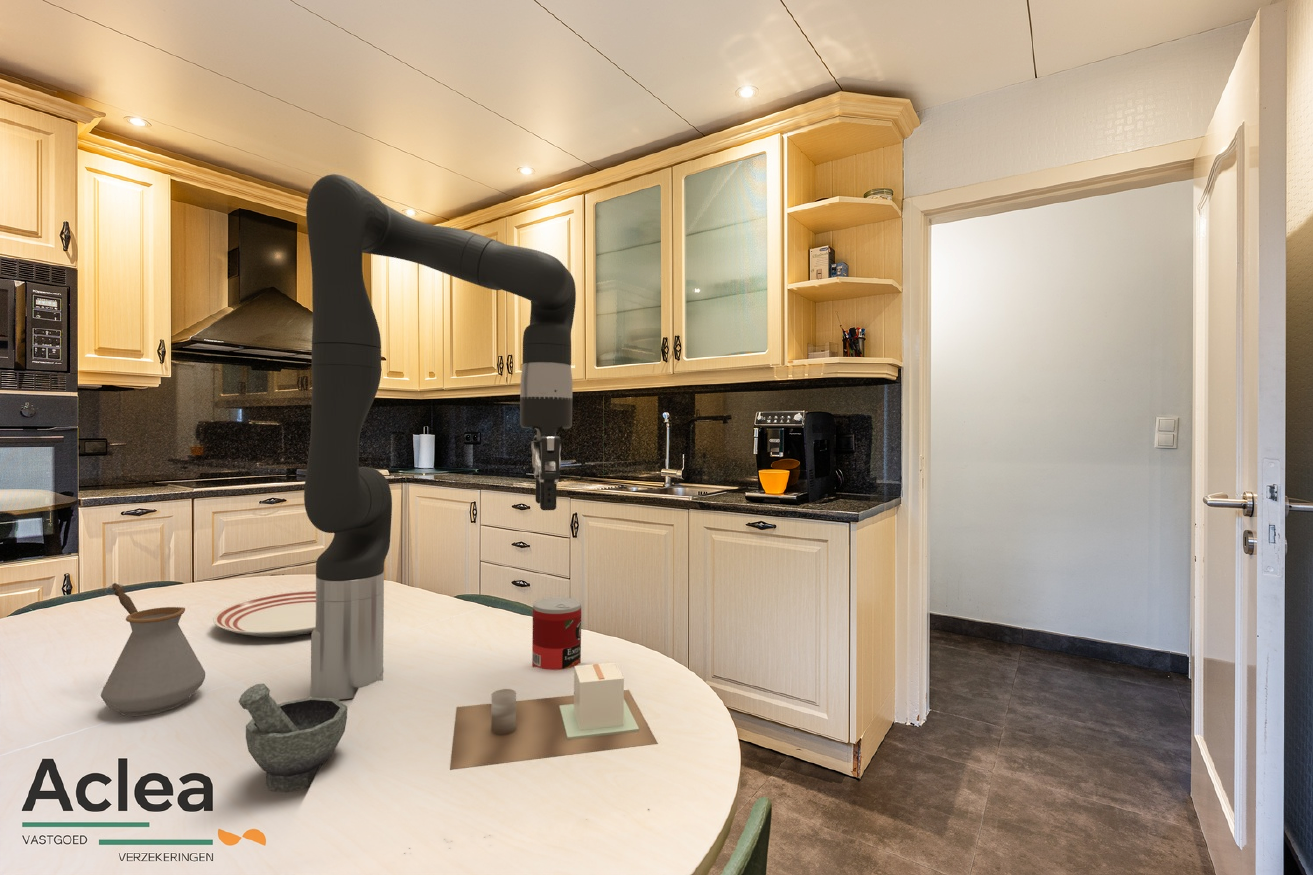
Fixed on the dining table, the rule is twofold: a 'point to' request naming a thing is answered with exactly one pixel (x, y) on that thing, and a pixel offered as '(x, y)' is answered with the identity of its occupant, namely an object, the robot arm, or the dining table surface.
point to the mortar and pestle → (291, 736)
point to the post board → (529, 731)
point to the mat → (575, 733)
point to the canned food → (556, 633)
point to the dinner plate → (271, 615)
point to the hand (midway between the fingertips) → (545, 506)
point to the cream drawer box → (598, 696)
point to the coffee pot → (152, 663)
